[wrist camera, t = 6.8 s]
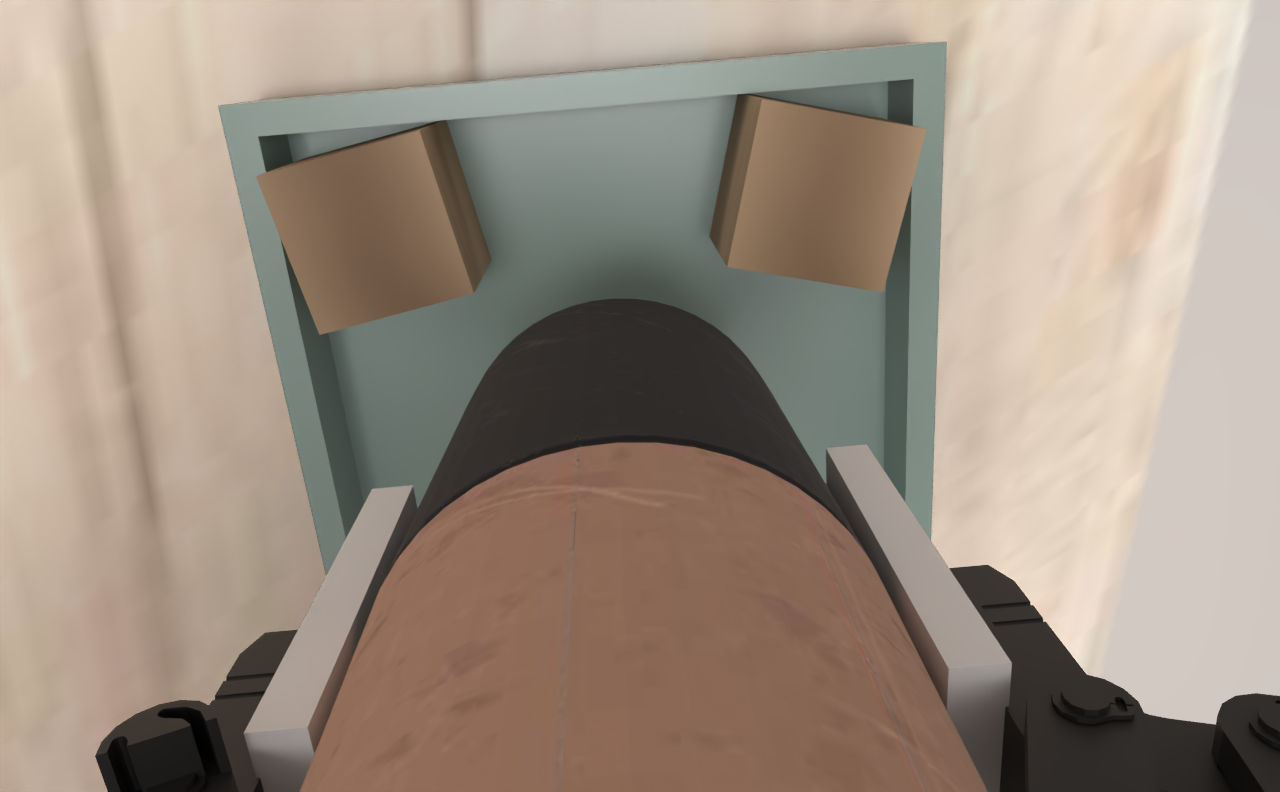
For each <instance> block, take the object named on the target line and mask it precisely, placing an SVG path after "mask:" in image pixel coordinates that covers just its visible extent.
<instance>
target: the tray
mask: <svg viewBox="0 0 1280 792" xmlns="http://www.w3.org/2000/svg"><path fill="white" fill-rule="evenodd" d="M946 45H947V42H925V43H902V44H891V45H879V46H868V47H856V48H845V49H834V50H822V51H811V52H799V53H788V54H777V55H765V56H754V57H742V58H731V59H720V60H708V61H697V62H685V63H674V64H663V65H651V66H640V67H628V68H617V69H606V70H594V71H583V72H571V73H560V74H549V75H537V76H526V77H514V78H503V79H491V80H480V81H469V82H457V83H446V84H434V85H423V86H412V87H400V88H389V89H377V90H366V91H355V92H343V93H332V94H320V95H309V96H298V97H286V98H275V99H263V100H255V101H248V102H241V103H235V104H228V105H221V106H218V107H219V111H220V116H221V120H222V124H223V129H224V133H225V138H226V142H227V146H228V151H229V155H230V159H231V164H232V168H233V172H234V177H235V181H236V185H237V190H238V194H239V198H240V203H241V207H242V211H243V216H244V220H245V224H246V229H247V233H248V237H249V242H250V246H251V250H252V255H253V259H254V264H255V268H256V272H257V277H258V281H259V285H260V290H261V294H262V298H263V303H264V307H265V311H266V316H267V320H268V324H269V329H270V333H271V337H272V342H273V346H274V350H275V355H276V359H277V363H278V368H279V372H280V376H281V381H282V385H283V390H284V394H285V398H286V403H287V407H288V411H289V416H290V420H291V424H292V429H293V433H294V437H295V442H296V446H297V450H298V455H299V459H300V463H301V468H302V472H303V476H304V481H305V485H306V489H307V494H308V498H309V502H310V507H311V511H312V516H313V520H314V524H315V529H316V533H317V537H318V542H319V546H320V550H321V555H322V559H323V563H324V568H325V572H326V576H327V574H328V572H329V570H330V568H331V566H332V564H333V562H334V560H335V559H336V557H337V555H338V553H339V551H340V549H341V547H342V545H343V543H344V541H345V540H346V538H347V536H348V534H349V532H350V530H351V528H352V526H353V524H354V522H355V521H356V519H357V517H358V515H359V513H360V511H361V509H362V507H363V505H364V503H365V502H366V500H367V498H368V496H369V494H370V492H371V490H372V489H377V488H388V487H399V486H410V485H413V487H414V493H415V498H416V504H417V509H418V507H419V505H420V503H421V501H422V499H423V497H424V495H425V493H426V491H427V489H428V486H429V484H430V482H431V480H432V478H433V476H434V474H435V472H436V470H437V468H438V466H439V463H440V461H441V459H442V457H443V455H444V453H445V451H446V449H447V447H448V445H449V443H450V441H451V438H452V436H453V434H454V432H455V430H456V428H457V426H458V424H459V422H460V420H461V418H462V416H463V413H464V411H465V409H466V407H467V405H468V403H469V401H470V400H471V398H472V396H473V394H474V392H475V390H476V388H477V386H478V385H479V383H480V381H481V379H482V378H483V376H484V374H485V373H486V371H487V369H488V368H489V367H490V365H491V364H492V363H493V361H494V360H495V359H496V358H497V356H498V355H499V354H500V352H501V351H502V350H503V349H504V348H505V347H506V346H507V345H508V344H509V343H510V342H511V341H512V340H513V339H514V338H515V337H516V336H518V335H519V334H520V333H522V332H523V331H525V330H526V329H527V328H529V327H530V326H531V325H533V324H534V323H536V322H538V321H540V320H542V319H543V318H545V317H547V316H549V315H551V314H553V313H555V312H558V311H560V310H563V309H565V308H568V307H571V306H574V305H578V304H582V303H586V302H590V301H597V300H605V299H640V300H648V301H655V302H659V303H663V304H666V305H670V306H674V307H677V308H679V309H682V310H684V311H687V312H689V313H691V314H694V315H696V316H698V317H699V318H701V319H703V320H705V321H706V322H708V323H710V324H711V325H713V326H714V327H716V328H717V329H718V330H720V331H721V332H722V333H723V334H725V335H726V336H727V337H729V338H730V339H731V340H732V341H733V342H734V343H735V344H736V345H737V346H738V347H739V348H740V349H741V351H742V352H743V353H744V354H745V355H746V356H747V357H748V359H749V360H750V362H751V363H752V364H753V366H754V367H755V368H756V370H757V371H758V372H759V374H760V375H761V377H762V379H763V380H764V382H765V383H766V385H767V386H768V388H769V389H770V391H771V393H772V394H773V396H774V398H775V399H776V401H777V403H778V405H779V406H780V408H781V410H782V411H783V413H784V415H785V416H786V418H787V420H788V421H789V423H790V425H791V426H792V428H793V430H794V431H795V433H796V435H797V437H798V438H799V440H800V442H801V443H802V445H803V447H804V448H805V450H806V452H807V453H808V455H809V457H810V458H811V460H812V462H813V463H814V465H815V467H816V468H817V470H818V472H819V474H820V475H821V477H822V479H823V480H824V482H825V484H826V448H832V447H843V446H854V445H865V444H867V446H868V447H869V449H870V450H871V452H872V453H873V455H874V456H875V458H876V459H877V461H878V462H879V464H880V465H881V467H882V468H883V470H884V471H885V473H886V474H887V476H888V477H889V479H890V480H891V482H892V483H893V485H894V486H895V488H896V489H897V491H898V492H899V494H900V495H901V497H902V498H903V500H904V501H905V503H906V504H907V506H908V507H909V509H910V510H911V512H912V513H913V515H914V516H915V518H916V519H917V521H918V522H919V524H920V525H921V527H922V528H923V530H924V531H925V533H926V534H927V536H928V537H929V539H930V540H931V525H932V493H933V461H934V429H935V397H936V365H937V333H938V301H939V269H940V237H941V205H942V173H943V141H944V109H945V77H946ZM737 94H752V95H758V96H763V97H769V98H774V99H779V100H785V101H790V102H796V103H801V104H807V105H812V106H818V107H823V108H829V109H834V110H840V111H845V112H851V113H856V114H862V115H867V116H872V117H878V118H882V119H887V120H891V121H895V122H899V123H903V124H907V125H912V126H916V127H920V128H924V129H927V130H926V134H925V138H924V141H923V145H922V149H921V153H920V156H919V160H918V164H917V168H916V171H915V175H914V179H913V182H912V186H911V190H910V194H909V197H908V201H907V205H906V209H905V212H904V216H903V220H902V223H901V227H900V231H899V235H898V238H897V242H896V246H895V250H894V253H893V257H892V261H891V264H890V268H889V272H888V276H887V279H886V283H885V287H884V291H883V292H877V291H871V290H865V289H859V288H853V287H847V286H840V285H834V284H828V283H822V282H816V281H810V280H804V279H798V278H792V277H786V276H779V275H773V274H767V273H761V272H755V271H749V270H743V269H737V268H731V267H727V266H726V264H725V262H724V261H723V259H722V257H721V256H720V254H719V252H718V251H717V249H716V247H715V246H714V244H713V242H712V240H711V239H710V237H709V235H710V230H711V225H712V220H713V215H714V210H715V205H716V200H717V195H718V190H719V185H720V180H721V175H722V170H723V165H724V160H725V155H726V150H727V145H728V140H729V134H730V129H731V124H732V119H733V114H734V109H735V104H736V99H737ZM441 120H447V123H448V126H449V130H450V133H451V136H452V139H453V142H454V145H455V148H456V151H457V154H458V157H459V160H460V164H461V167H462V170H463V173H464V176H465V179H466V182H467V185H468V188H469V191H470V195H471V198H472V201H473V204H474V207H475V210H476V213H477V216H478V219H479V222H480V225H481V229H482V232H483V235H484V238H485V241H486V244H487V247H488V250H489V253H490V256H491V261H490V263H489V265H488V267H487V269H486V271H485V273H484V275H483V277H482V279H481V281H480V283H479V285H478V287H477V289H476V291H475V292H474V294H470V295H467V296H463V297H459V298H456V299H452V300H448V301H444V302H441V303H437V304H433V305H430V306H426V307H422V308H418V309H415V310H411V311H407V312H403V313H400V314H396V315H392V316H389V317H385V318H381V319H377V320H374V321H370V322H366V323H363V324H359V325H355V326H351V327H348V328H344V329H340V330H336V331H333V332H329V333H325V334H322V335H319V332H318V330H317V328H316V325H315V323H314V320H313V318H312V315H311V313H310V310H309V308H308V305H307V303H306V300H305V298H304V295H303V293H302V290H301V288H300V285H299V283H298V280H297V278H296V275H295V273H294V270H293V268H292V265H291V263H290V260H289V258H288V255H287V253H286V250H285V248H284V245H283V243H282V240H281V238H280V235H279V233H278V231H277V228H276V226H275V223H274V221H273V218H272V216H271V213H270V211H269V208H268V206H267V203H266V201H265V198H264V196H263V193H262V191H261V188H260V186H259V183H258V181H257V178H256V176H258V175H260V174H263V173H266V172H269V171H271V170H274V169H277V168H279V167H282V166H285V165H288V164H290V163H293V162H296V161H299V160H301V159H304V158H307V157H311V156H314V155H318V154H321V153H325V152H328V151H332V150H336V149H339V148H343V147H346V146H350V145H354V144H357V143H361V142H364V141H368V140H371V139H375V138H379V137H382V136H386V135H389V134H393V133H397V132H400V131H404V130H407V129H411V128H415V127H418V126H422V125H425V124H429V123H432V122H436V121H441Z"/></svg>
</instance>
